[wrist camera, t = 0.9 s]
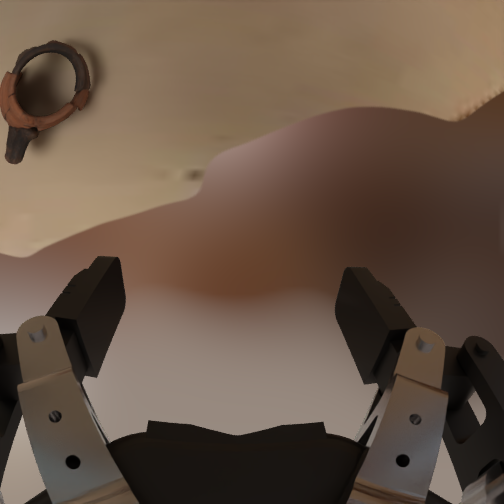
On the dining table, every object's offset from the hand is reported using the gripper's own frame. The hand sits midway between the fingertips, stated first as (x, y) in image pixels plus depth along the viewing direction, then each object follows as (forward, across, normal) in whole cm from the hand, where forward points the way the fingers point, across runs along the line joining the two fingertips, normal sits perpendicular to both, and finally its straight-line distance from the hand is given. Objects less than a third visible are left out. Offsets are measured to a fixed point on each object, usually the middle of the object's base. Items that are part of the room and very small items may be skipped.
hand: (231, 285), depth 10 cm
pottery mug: (+19, +19, -8) cm, 28 cm away
